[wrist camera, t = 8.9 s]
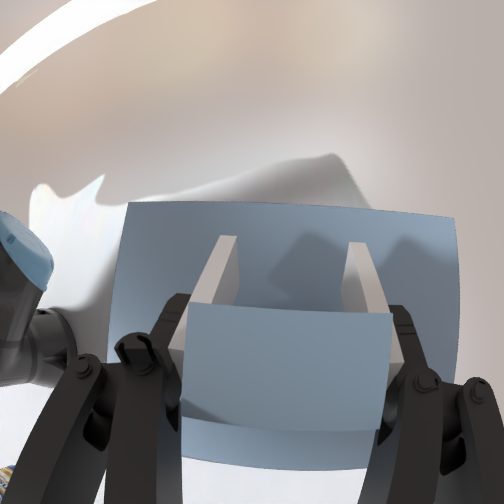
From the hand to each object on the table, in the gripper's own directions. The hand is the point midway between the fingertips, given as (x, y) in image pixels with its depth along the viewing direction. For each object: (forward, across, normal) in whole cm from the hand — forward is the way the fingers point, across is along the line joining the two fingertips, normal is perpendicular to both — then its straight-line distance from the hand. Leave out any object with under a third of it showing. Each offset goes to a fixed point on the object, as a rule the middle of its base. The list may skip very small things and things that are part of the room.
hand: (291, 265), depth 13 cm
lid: (+1, 0, -7) cm, 7 cm away
